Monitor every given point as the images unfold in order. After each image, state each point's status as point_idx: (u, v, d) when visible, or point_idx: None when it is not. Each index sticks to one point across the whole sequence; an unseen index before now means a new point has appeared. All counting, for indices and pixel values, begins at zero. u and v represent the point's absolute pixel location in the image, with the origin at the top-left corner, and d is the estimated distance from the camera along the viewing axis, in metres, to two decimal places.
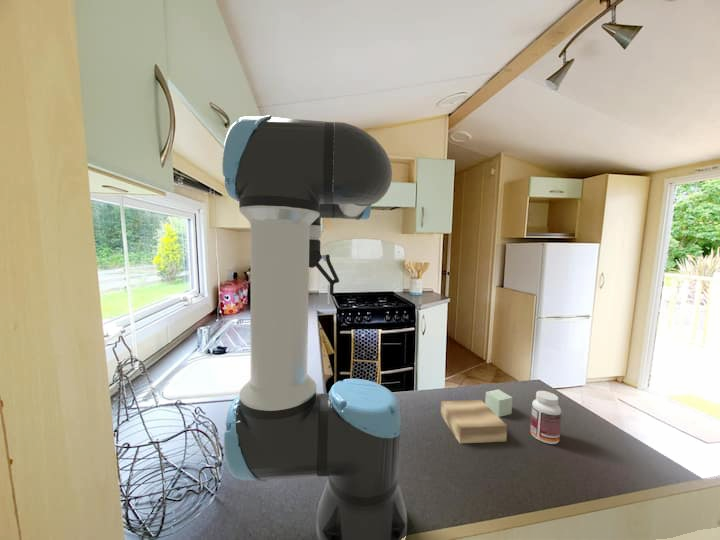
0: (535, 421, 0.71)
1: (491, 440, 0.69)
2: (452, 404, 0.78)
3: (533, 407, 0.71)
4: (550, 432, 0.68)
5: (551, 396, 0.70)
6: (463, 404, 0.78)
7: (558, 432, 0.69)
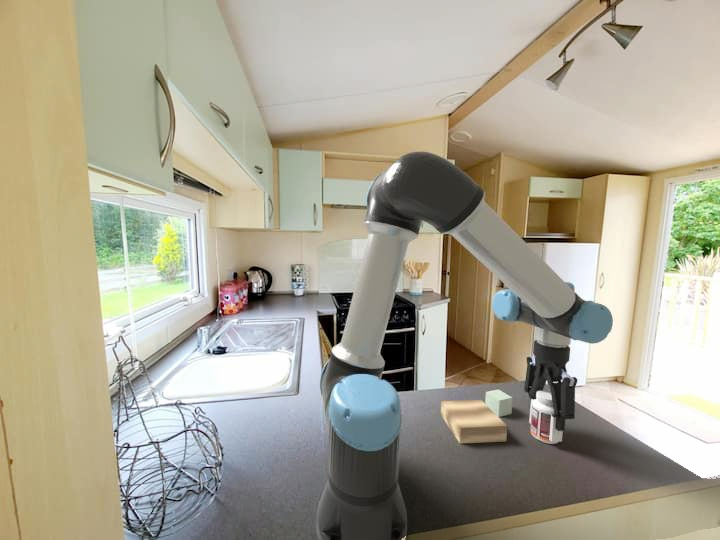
0: (535, 421, 0.71)
1: (491, 440, 0.69)
2: (452, 404, 0.78)
3: (533, 407, 0.71)
4: None
5: (551, 396, 0.70)
6: (463, 404, 0.78)
7: None
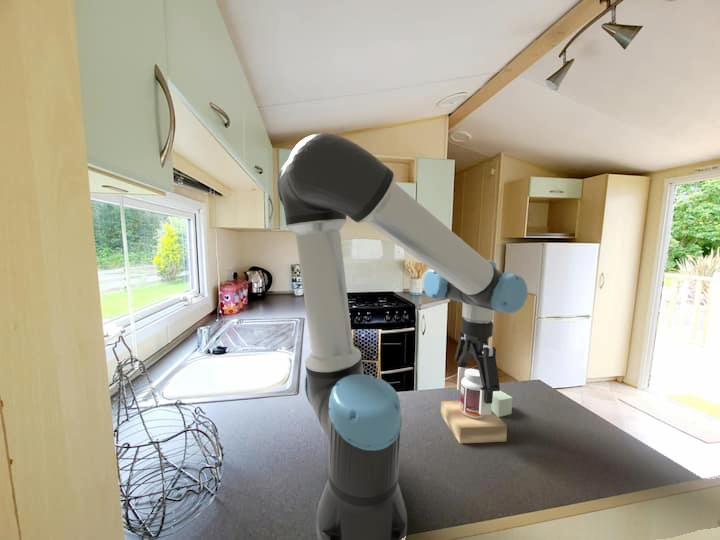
0: (462, 397, 0.73)
1: (491, 440, 0.69)
2: (452, 404, 0.78)
3: (461, 384, 0.74)
4: (474, 407, 0.71)
5: (477, 373, 0.73)
6: None
7: None
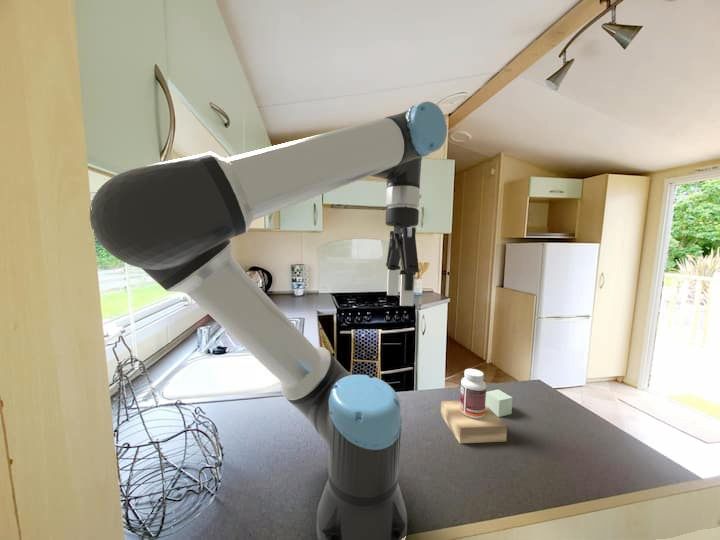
0: (462, 397, 0.73)
1: (491, 440, 0.69)
2: (452, 404, 0.78)
3: (461, 384, 0.74)
4: (474, 407, 0.71)
5: (477, 373, 0.73)
6: None
7: (482, 407, 0.71)
